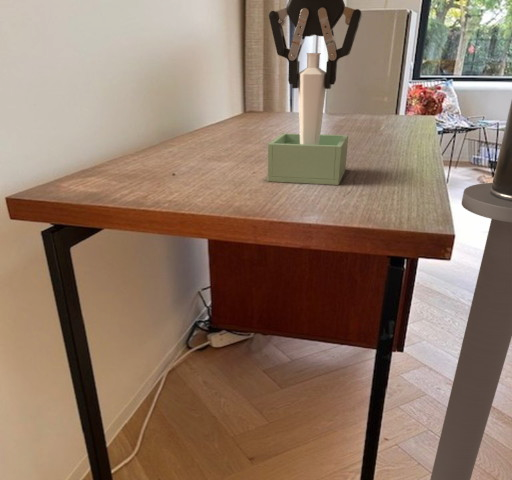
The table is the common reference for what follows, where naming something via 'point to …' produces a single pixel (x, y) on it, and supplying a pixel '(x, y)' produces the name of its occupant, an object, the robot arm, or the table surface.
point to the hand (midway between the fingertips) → (311, 87)
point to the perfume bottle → (311, 100)
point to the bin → (307, 159)
